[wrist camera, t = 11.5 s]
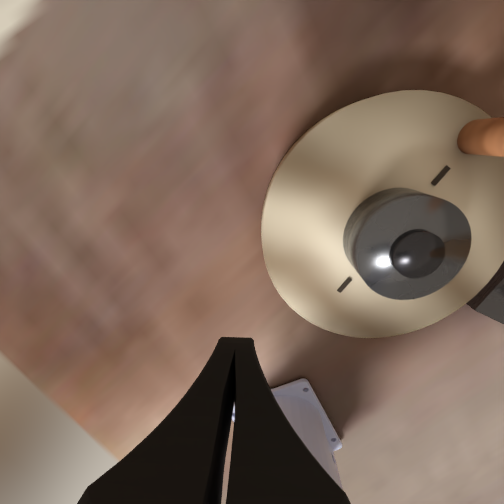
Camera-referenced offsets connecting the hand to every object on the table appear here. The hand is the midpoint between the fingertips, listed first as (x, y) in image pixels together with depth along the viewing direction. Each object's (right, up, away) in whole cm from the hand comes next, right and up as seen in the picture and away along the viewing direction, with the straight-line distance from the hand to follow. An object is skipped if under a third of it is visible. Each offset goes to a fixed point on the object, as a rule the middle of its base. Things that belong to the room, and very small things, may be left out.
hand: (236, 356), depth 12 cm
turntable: (+9, +6, +8) cm, 14 cm away
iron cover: (+9, +5, +6) cm, 13 cm away
